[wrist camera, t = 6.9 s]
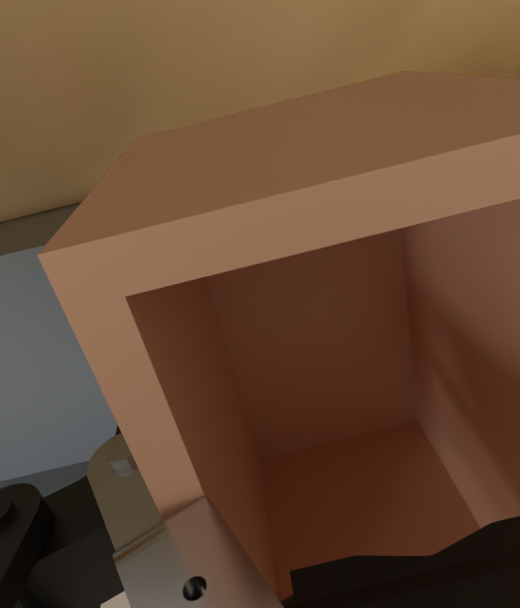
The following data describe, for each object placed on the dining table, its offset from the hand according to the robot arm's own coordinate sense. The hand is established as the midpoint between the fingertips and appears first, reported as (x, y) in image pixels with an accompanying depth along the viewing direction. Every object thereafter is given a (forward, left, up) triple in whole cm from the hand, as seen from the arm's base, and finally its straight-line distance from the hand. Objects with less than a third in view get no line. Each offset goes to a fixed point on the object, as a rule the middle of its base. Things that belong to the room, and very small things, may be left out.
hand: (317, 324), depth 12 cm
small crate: (0, 0, -1) cm, 1 cm away
